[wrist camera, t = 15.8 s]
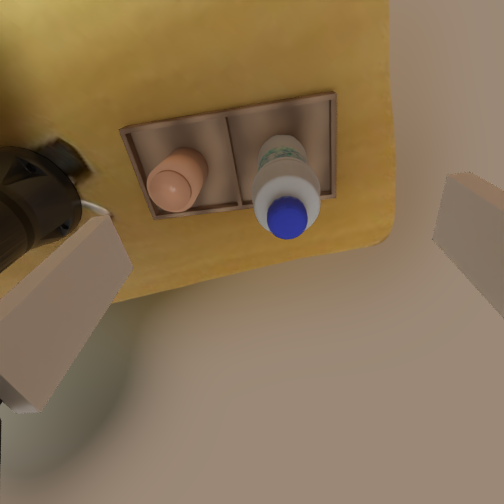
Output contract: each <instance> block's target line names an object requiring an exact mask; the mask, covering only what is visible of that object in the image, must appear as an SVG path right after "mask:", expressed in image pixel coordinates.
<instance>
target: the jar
mask: <svg viewBox="0 0 504 504" xmlns="http://www.w3.org/2000/svg"><path fill="white" fill-rule="evenodd" d="M208 172H209V169H208V164H207V162H206V160H205V158H204V157H203V155H202V154H201V153H200V152H198V151H197V150H195V149H193V148H190V147H180V148H177V149H175V150H174V151H172V152H171V153H170V154H169V155H168V156H167V157H166V158H165V159H164V160H163V161H162V162H161V163H160V164H159V165H158V166H156V167H155V168H154V169H153V170H152V171H151V172H150V174H149V176H148V179H147V190H148V193H149V196H150V197H151V199H152V200H153V202H154V203H155V204H156V205H158V206H159V207H160V208H162V209H164V210H166V211H169V212H182V211H185V210H187V209H189V208H190V207H191V206H192V205H193V204H194V202H195V200H196V198H197V196H198V194H199V192H200V191H201V189H202V187H203V185H204V183H205V181H206V179H207V177H208Z"/></svg>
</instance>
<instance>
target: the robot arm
mask: <svg viewBox="0 0 504 504" xmlns="http://www.w3.org/2000/svg"><path fill="white" fill-rule="evenodd" d="M80 218H81V203H80V199H79V196H78V194H77V192H76V190H75V188H74V186H73V184H72V183H71V181H70V180H69V179H68V178H67V176H66V175H65V174H64V173H63V172H62V171H61V170H60V169H59V168H58V167H57V166H56V165H54V164H53V163H52V162H50V161H49V160H47V159H46V158H44V157H43V156H41V155H39V154H37V153H35V152H32V151H30V150H27V149H23V148H18V147H2V148H0V273H1V272H2V271H4V270H5V269H6V268H7V267H9V266H10V265H11V264H12V263H14V262H15V261H16V260H17V259H19V258H20V257H21V256H22V255H23V254H25V253H26V252H27V251H29V250H30V249H33V248H36V247H40V246H43V245H46V244H49V243H52V242H55V241H58V240H60V239H62V238H64V237H65V236H67V235H68V234H69V233H70V232H71V231H72V230H74V229H75V228H76V226H77V225H78V223H79V221H80ZM432 240H433V241H434V242H435V243H436V244H437V245H438V247H439V248H440V249H441V250H442V251H443V252H444V253H445V254H446V255H447V256H448V258H449V259H450V260H451V261H452V262H453V263H454V264H455V265H456V266H457V267H458V269H459V270H460V271H461V272H462V273H463V274H464V275H465V276H466V277H467V279H468V280H469V281H470V282H471V283H472V284H473V285H474V286H475V287H476V288H477V290H478V291H479V292H480V293H481V294H482V295H483V296H484V297H485V298H486V299H487V301H488V302H489V303H490V304H491V305H492V306H493V307H494V308H495V310H496V311H498V313H499V314H500V315H501V316H502V317H503V318H504V191H503V190H502V189H500V188H498V187H496V186H494V185H493V184H491V183H489V182H487V181H485V180H484V179H482V178H480V177H478V176H477V175H475V174H473V173H471V172H465V173H457V174H448V175H447V177H446V181H445V186H444V190H443V194H442V199H441V203H440V208H439V212H438V216H437V221H436V225H435V229H434V234H433V238H432ZM133 268H134V267H133V265H132V263H131V261H130V259H129V257H128V255H127V252H126V250H125V248H124V246H123V244H122V242H121V240H120V237H119V235H118V233H117V231H116V229H115V227H114V225H113V222H112V220H111V218H110V216H109V215H106V216H97V217H92V218H91V219H89V220H88V221H87V222H86V223H85V224H84V225H83V226H82V227H81V228H79V229H78V230H77V231H76V232H75V233H74V234H73V235H72V236H71V237H69V238H68V239H67V240H66V241H65V242H64V243H63V244H62V245H61V246H59V247H58V248H57V249H56V250H55V251H54V252H53V253H52V254H51V255H49V256H48V257H47V258H46V259H45V260H44V261H43V262H42V263H41V264H39V265H38V266H37V267H36V268H35V269H34V270H33V271H32V272H31V273H29V274H28V275H27V276H26V277H25V278H24V279H23V280H22V281H21V282H19V283H18V284H17V285H16V286H15V287H14V288H13V289H12V290H10V291H9V292H8V293H7V294H6V295H5V296H4V297H3V298H2V299H0V404H1V403H2V402H3V403H5V404H6V405H7V406H8V407H9V408H10V409H11V410H13V411H14V412H15V413H40V412H41V411H42V409H43V408H44V406H45V405H46V403H47V402H48V400H49V399H50V397H51V395H52V394H53V392H54V391H55V389H56V388H57V386H58V385H59V383H60V381H61V380H62V378H63V377H64V375H65V374H66V372H67V371H68V369H69V368H70V366H71V364H72V363H73V361H74V360H75V358H76V357H77V355H78V354H79V352H80V350H81V349H82V347H83V346H84V344H85V343H86V341H87V340H88V338H89V336H90V335H91V333H92V332H93V330H94V328H95V327H96V326H97V324H98V322H99V321H100V319H101V318H102V316H103V315H104V313H105V312H106V310H107V309H108V307H109V305H110V304H111V302H112V301H113V299H114V298H115V296H116V295H117V293H118V291H119V290H120V288H121V287H122V285H123V284H124V282H125V281H126V279H127V277H128V276H129V274H130V273H131V271H132V270H133ZM0 459H1V419H0ZM0 461H1V460H0Z"/></svg>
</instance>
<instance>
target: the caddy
mask: <svg viewBox="0 0 504 504" xmlns="http://www.w3.org/2000/svg"><path fill="white" fill-rule="evenodd" d="M119 132H120V134H121V137H122V139H123V142H124V145H125V147H126V150H127V152H128V155H129V158H130V160H131V163H132V165H133V168H134V171H135V173H136V176H137V178H138V181H139V184H140V186H141V189H142V191H143V194H144V196H145V199H146V202H147V204H148V207H149V209H150V212H151V215H152V217H153V220H157V219H165V218H174V217H182V216H190V215H198V214H207V213H215V212H223V211H232V210H240V209H248V208H254V206H253V203H252V198H251V190H252V185H253V182H254V179H255V176H256V174H257V173H258V155H259V151H260V149H261V147H262V146H263V144H264V143H265V142H266V141H267V140H268V139H270V138H271V137H272V136H275V135H291V136H293V137H295V138H296V139H297V140H298V141H299V142H300V143H301V144H302V146H303V147H304V149H305V152H306V156H307V163H308V165H309V166H310V167H311V169H312V170H313V171H314V173H315V175H316V176H317V178H318V181H319V184H320V200H323V199H331V198H336V93H335V92H333V91H331V92H325V93H319V94H313V95H307V96H301V97H295V98H289V99H283V100H278V101H272V102H266V103H260V104H254V105H248V106H242V107H236V108H230V109H224V110H218V111H212V112H206V113H200V114H194V115H188V116H183V117H177V118H171V119H165V120H159V121H153V122H147V123H141V124H135V125H129V126H125V127H123V128H121V129H119ZM180 147H190V148H193V149H195V150H197V151H198V152H200V153H201V154H202V155H203V157H204V158H205V160H206V162H207V164H208V169H209V172H208V177H207V179H206V181H205V183H204V185H203V187H202V189H201V191H200V192H199V194H198V196H197V198H196V200H195V202H194V204H193V205H192V206H191V207H190V208H189V209H187V210H185V211H182V212H169V211H166V210H164V209H162V208H160V207H159V206H158V205H156V204H155V203H154V202H153V200H152V199H151V197H150V196H149V193H148V190H147V179H148V176H149V174H150V172H151V171H152V170H153V169H154V168H155V167H156V166H158V165H159V164H160V163H161V162H162V161H163V160H164V159H165V158H166V157H167V156H168V155H169V154H170V153H171V152H172V151H174V150H175V149H177V148H180Z"/></svg>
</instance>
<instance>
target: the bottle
mask: <svg viewBox="0 0 504 504" xmlns="http://www.w3.org/2000/svg"><path fill="white" fill-rule="evenodd" d="M251 198H252V203H253V206H254V212H255V216H256V218H257V220H258V222H259V223H260V224H261V225H262V226H263V227H264V228H265V229H266V230H268V231H269V232H271V233H273V234H274V235H275V236H276V237H278V238H281V239H293V238H296V237H297V236H299V235H300V234H302V233H303V232H304V230H306V229H307V228H309V227H310V226H311V225H312V224H313V223H314V221H315V220H316V218H317V216H318V214H319V210H320V184H319V181H318V178H317V176H316V175H315V173H314V171H313V170H312V169H311V167H310V166H309V165H308V163H307V156H306V152H305V149H304V147H303V146H302V144H301V143H300V142H299V141H298V140H297V139H296V138H295V137H293V136H291V135H275V136H272V137H271V138H270V139H268V140H267V141H266V142H265V143H264V144H263V146H262V147H261V149H260V151H259V155H258V173H257V174H256V176H255V179H254V182H253V185H252V190H251Z"/></svg>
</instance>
